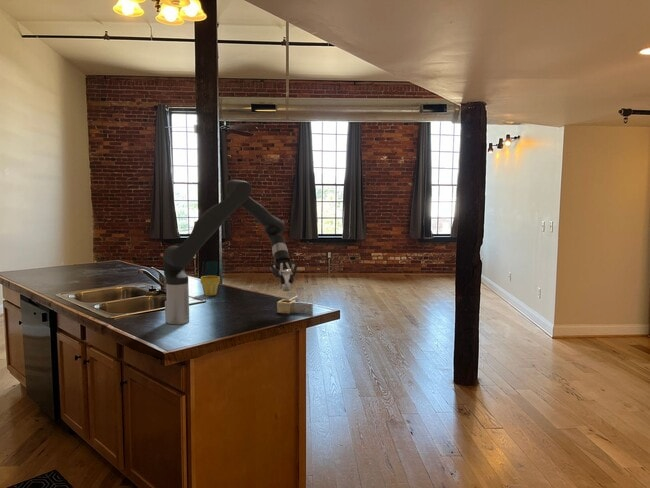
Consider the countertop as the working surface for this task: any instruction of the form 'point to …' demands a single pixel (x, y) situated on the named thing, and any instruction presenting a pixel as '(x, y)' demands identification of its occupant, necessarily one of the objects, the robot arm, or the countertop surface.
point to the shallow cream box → (294, 306)
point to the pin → (286, 279)
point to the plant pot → (210, 284)
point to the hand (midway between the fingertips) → (287, 282)
